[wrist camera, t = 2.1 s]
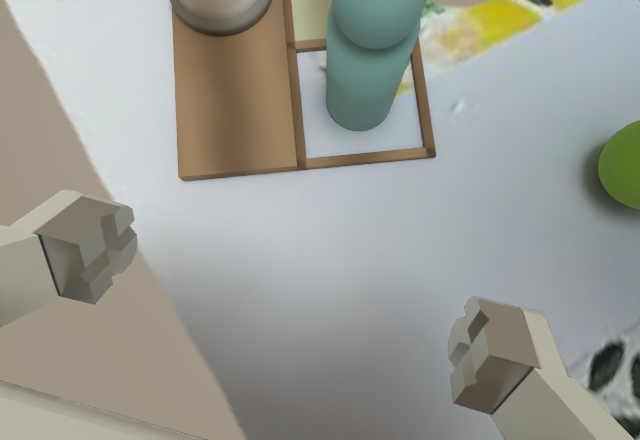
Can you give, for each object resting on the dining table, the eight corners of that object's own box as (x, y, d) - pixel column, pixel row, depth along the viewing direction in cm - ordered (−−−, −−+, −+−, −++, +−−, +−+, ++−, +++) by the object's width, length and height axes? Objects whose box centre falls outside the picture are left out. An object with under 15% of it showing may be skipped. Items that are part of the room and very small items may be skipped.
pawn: (386, 66, 27) (434, -94, 15) (395, 127, 26) (450, 7, 15) (323, 72, 27) (322, -83, 15) (329, 133, 26) (334, 18, 15)
